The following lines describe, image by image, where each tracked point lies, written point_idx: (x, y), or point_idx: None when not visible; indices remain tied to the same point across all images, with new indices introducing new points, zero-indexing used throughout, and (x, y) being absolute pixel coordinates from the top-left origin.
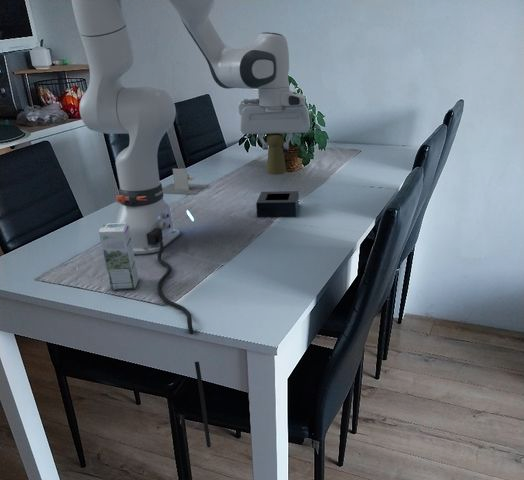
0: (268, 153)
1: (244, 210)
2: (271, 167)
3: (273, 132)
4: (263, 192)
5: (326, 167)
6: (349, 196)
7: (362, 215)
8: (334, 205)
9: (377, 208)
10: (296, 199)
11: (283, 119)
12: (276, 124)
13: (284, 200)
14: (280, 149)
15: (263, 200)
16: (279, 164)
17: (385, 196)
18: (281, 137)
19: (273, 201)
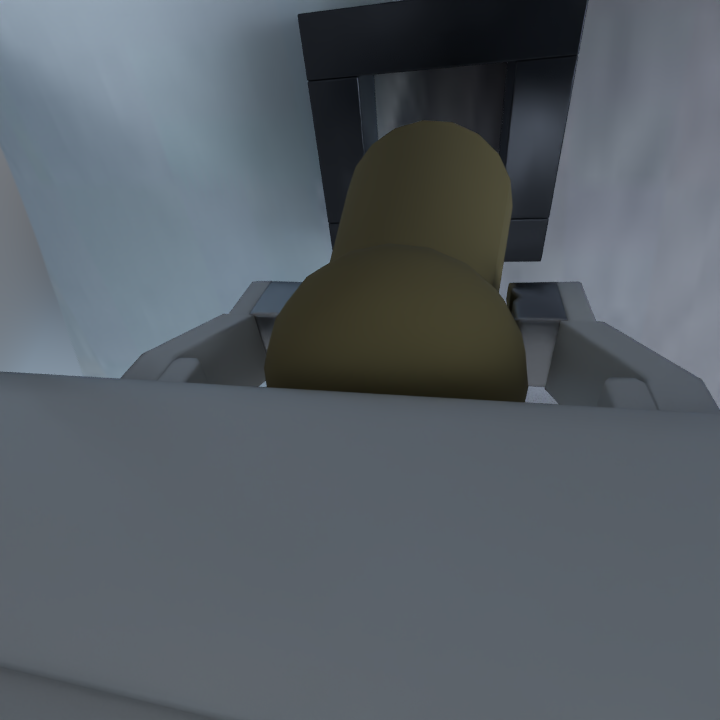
0: (495, 256)
1: (643, 139)
2: (461, 153)
3: (385, 400)
4: (527, 244)
5: None
6: (183, 328)
7: (18, 68)
8: (195, 223)
9: (19, 180)
10: (310, 100)
11: (13, 639)
12: (265, 536)
13: (379, 61)
14: (336, 258)
15: (530, 53)
16: (376, 167)
17: (70, 319)
18: (273, 344)
19: (454, 28)
